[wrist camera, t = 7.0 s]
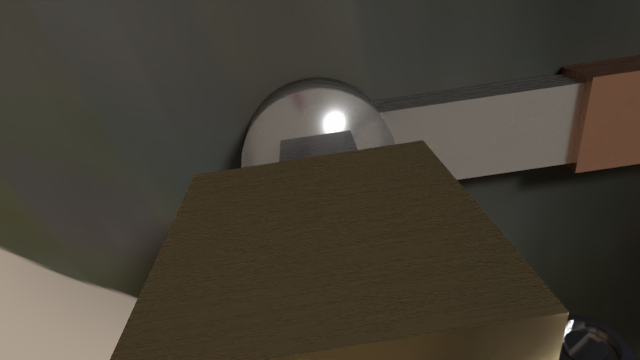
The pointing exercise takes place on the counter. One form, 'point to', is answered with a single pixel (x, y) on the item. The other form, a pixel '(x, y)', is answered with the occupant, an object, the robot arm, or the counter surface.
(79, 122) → the counter surface
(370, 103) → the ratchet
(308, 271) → the mustard yellow cube
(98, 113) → the counter surface
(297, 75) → the counter surface
